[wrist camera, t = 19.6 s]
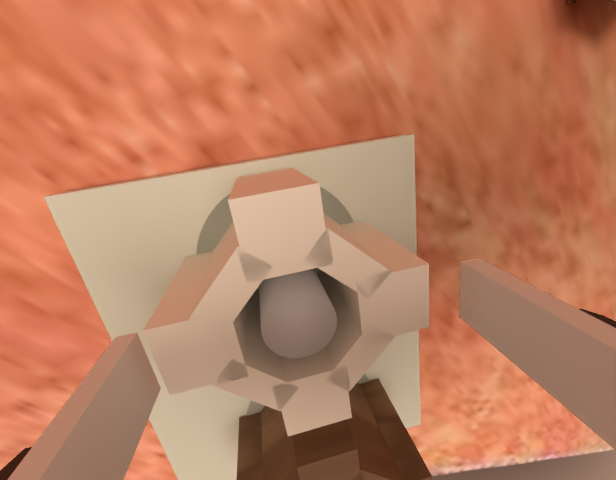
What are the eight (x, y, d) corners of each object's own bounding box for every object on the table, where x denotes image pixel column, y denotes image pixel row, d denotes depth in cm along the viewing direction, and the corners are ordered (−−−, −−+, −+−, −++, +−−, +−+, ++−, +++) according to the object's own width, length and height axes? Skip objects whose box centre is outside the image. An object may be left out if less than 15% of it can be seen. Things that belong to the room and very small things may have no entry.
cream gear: (372, 313, 20) (430, 394, 14) (216, 352, 19) (198, 462, 12) (357, 155, 16) (428, 162, 10) (163, 189, 15) (96, 224, 9)
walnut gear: (374, 337, 21) (431, 425, 14) (384, 439, 24) (432, 547, 18) (225, 376, 19) (213, 493, 13) (259, 478, 23) (262, 609, 17)
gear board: (397, 135, 19) (518, 127, 10) (409, 404, 27) (481, 523, 18) (67, 191, 16) (-133, 241, 8) (191, 469, 24) (159, 641, 16)
